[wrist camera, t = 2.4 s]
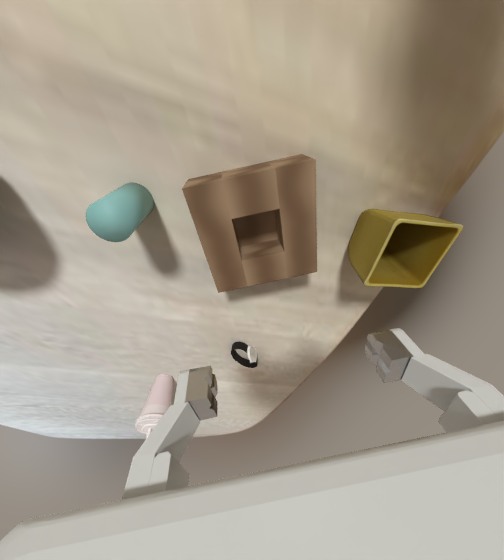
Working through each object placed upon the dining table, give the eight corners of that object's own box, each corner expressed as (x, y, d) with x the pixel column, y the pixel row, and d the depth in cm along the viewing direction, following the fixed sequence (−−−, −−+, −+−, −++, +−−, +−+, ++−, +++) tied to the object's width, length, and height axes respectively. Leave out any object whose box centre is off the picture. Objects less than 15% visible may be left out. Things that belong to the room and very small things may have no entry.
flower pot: (410, 202, 32) (467, 225, 24) (383, 256, 37) (423, 289, 29) (355, 196, 30) (397, 218, 23) (333, 252, 35) (362, 286, 28)
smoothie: (143, 375, 48) (117, 453, 36) (170, 367, 47) (153, 444, 36) (158, 389, 51) (139, 465, 40) (184, 382, 51) (172, 457, 39)
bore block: (301, 154, 27) (315, 159, 23) (305, 254, 35) (317, 271, 31) (188, 179, 27) (182, 188, 23) (219, 273, 35) (218, 292, 31)
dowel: (144, 179, 26) (119, 196, 20) (158, 212, 29) (140, 237, 22) (112, 186, 26) (76, 206, 20) (129, 218, 29) (101, 245, 22)
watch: (262, 354, 48) (264, 369, 45) (243, 362, 49) (244, 378, 46) (245, 335, 44) (246, 350, 41) (224, 344, 45) (225, 359, 42)
